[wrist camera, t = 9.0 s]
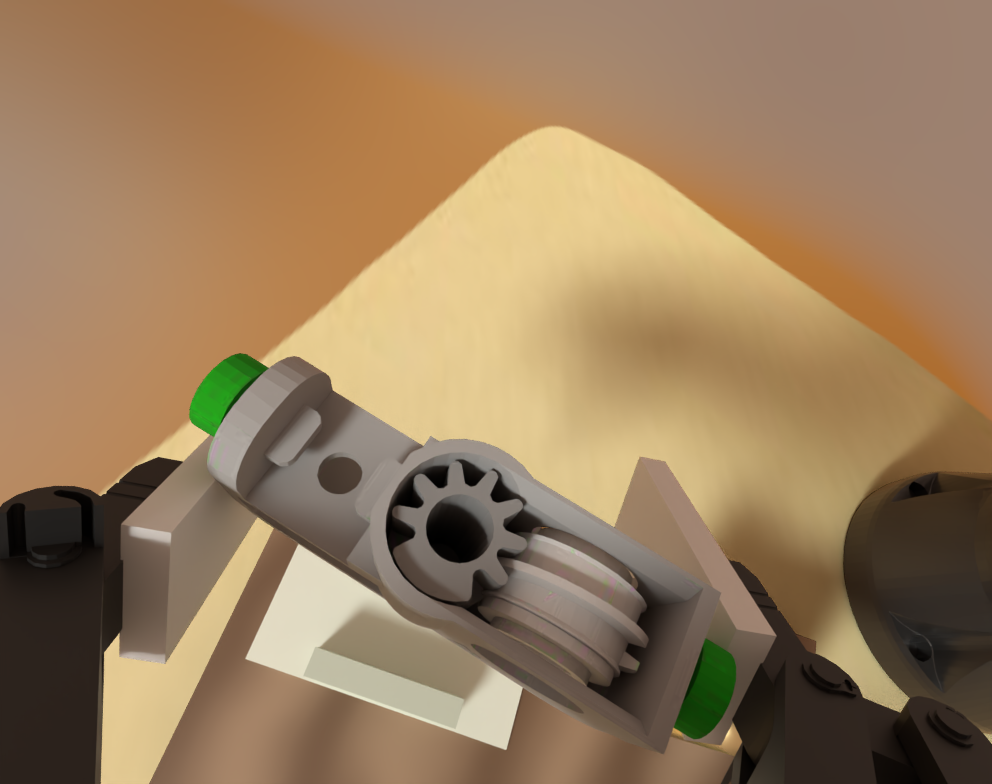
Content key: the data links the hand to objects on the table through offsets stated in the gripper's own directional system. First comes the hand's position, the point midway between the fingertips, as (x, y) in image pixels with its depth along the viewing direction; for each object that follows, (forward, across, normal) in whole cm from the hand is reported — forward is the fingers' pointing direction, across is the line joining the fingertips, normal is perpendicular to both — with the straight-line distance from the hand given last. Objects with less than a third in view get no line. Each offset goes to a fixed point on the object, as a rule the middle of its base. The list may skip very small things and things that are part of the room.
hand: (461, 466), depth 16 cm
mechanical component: (+1, 0, -5) cm, 5 cm away
